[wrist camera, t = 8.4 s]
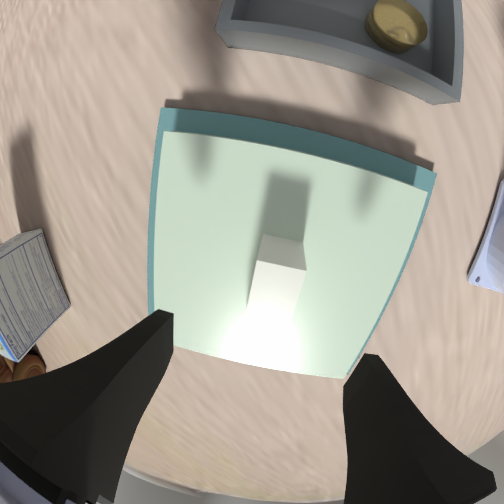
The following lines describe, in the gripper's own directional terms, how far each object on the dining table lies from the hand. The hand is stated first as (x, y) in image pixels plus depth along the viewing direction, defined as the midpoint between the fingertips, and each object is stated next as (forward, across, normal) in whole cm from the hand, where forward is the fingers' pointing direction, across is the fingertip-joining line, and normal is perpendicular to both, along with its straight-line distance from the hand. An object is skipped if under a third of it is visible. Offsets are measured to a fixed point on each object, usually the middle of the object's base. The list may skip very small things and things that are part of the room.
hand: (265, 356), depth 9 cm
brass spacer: (+7, -3, -15) cm, 17 cm away
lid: (+6, 0, 0) cm, 6 cm away
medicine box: (+8, +20, +6) cm, 22 cm away
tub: (+8, -1, -18) cm, 20 cm away
